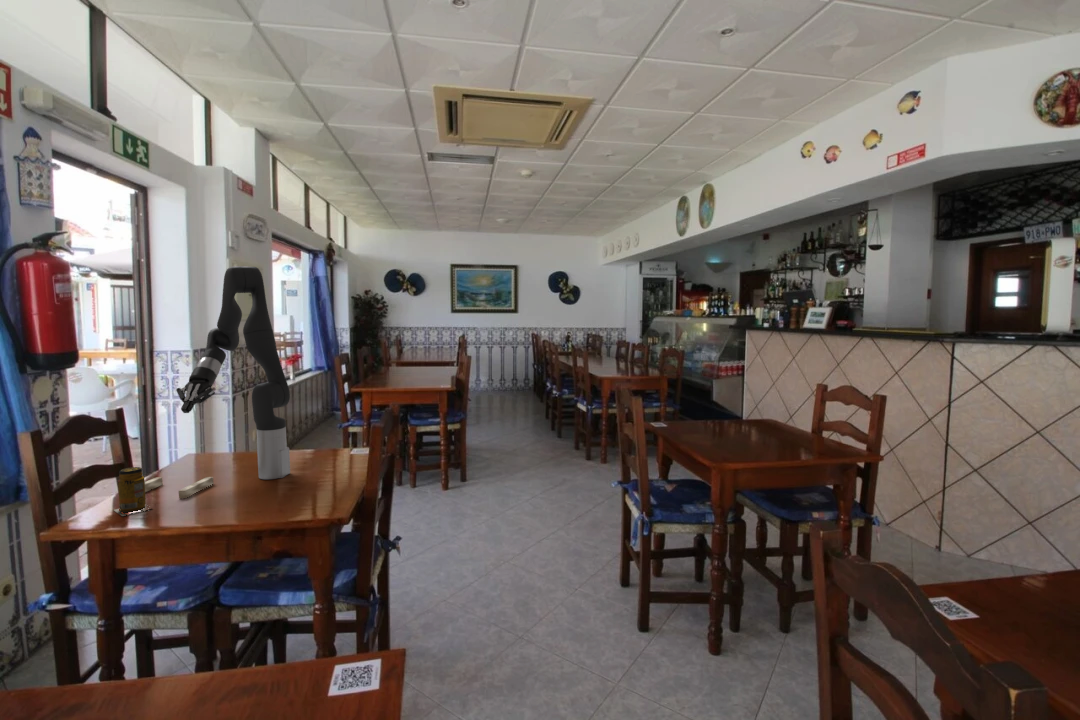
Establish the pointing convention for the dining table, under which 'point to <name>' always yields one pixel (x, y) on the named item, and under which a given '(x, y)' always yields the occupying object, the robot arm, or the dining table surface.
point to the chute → (185, 491)
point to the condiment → (131, 490)
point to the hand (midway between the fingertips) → (185, 411)
